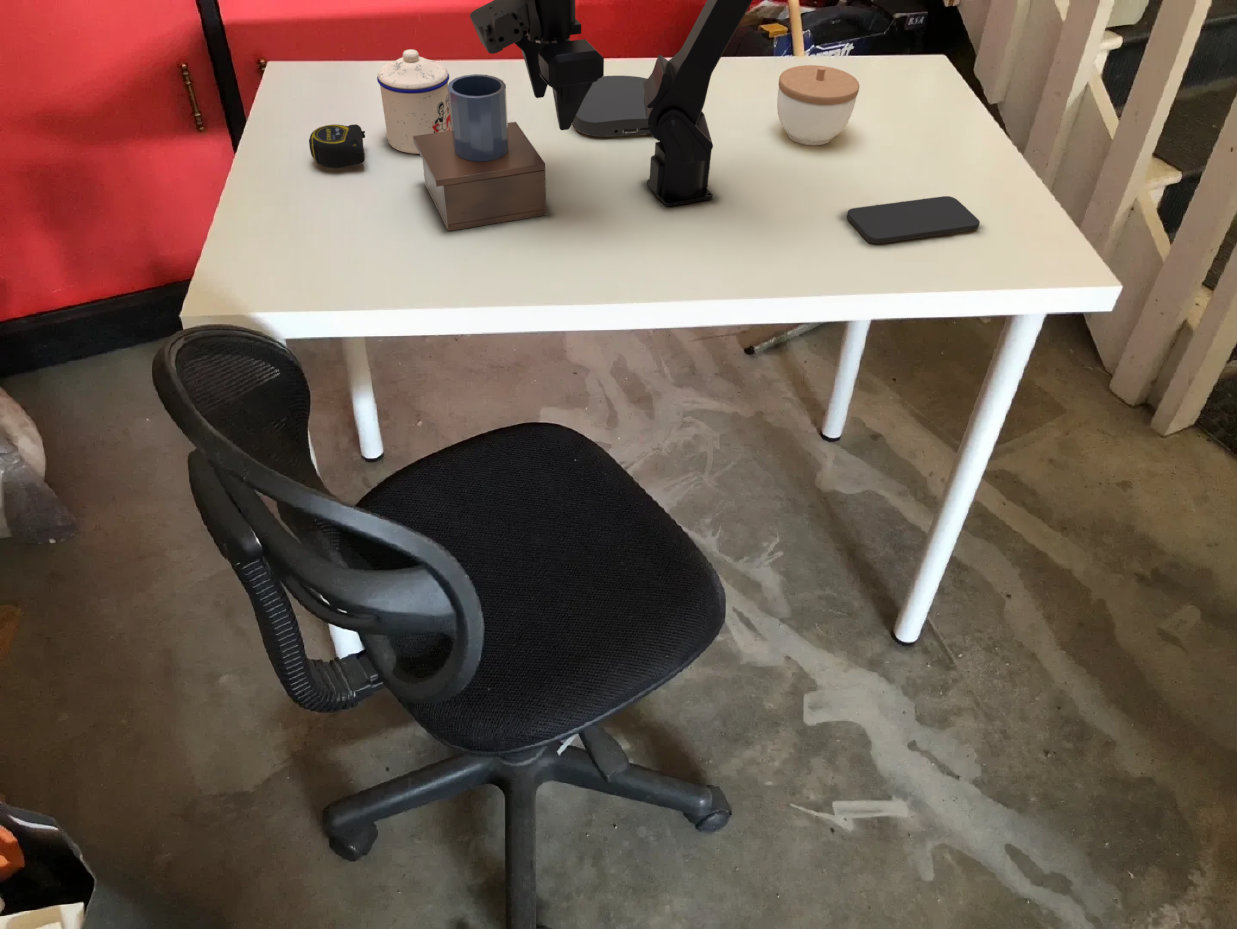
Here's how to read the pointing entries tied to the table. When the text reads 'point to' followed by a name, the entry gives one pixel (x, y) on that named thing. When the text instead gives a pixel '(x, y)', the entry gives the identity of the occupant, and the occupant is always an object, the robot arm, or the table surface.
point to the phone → (912, 219)
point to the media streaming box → (613, 108)
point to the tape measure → (337, 145)
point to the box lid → (458, 170)
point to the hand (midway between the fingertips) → (551, 112)
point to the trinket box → (815, 102)
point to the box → (489, 199)
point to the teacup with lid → (414, 99)
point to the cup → (478, 117)
